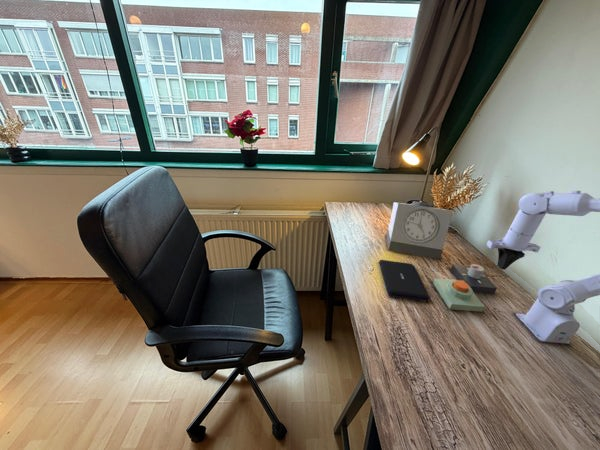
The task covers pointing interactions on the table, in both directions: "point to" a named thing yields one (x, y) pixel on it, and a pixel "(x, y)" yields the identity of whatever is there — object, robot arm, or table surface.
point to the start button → (461, 286)
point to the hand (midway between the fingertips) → (501, 267)
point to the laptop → (403, 280)
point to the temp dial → (475, 271)
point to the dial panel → (473, 279)
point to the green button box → (457, 296)
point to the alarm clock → (418, 229)
